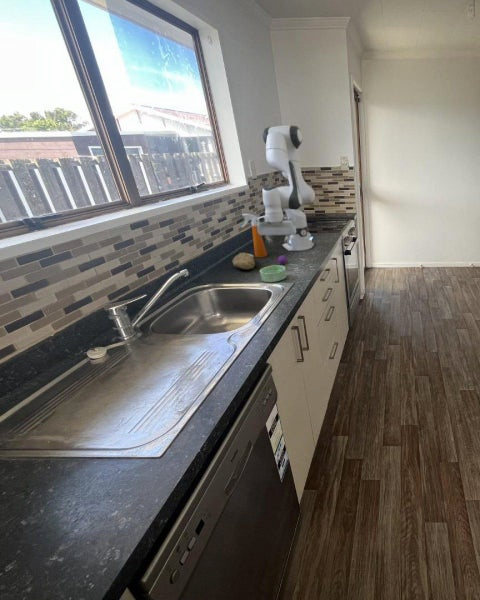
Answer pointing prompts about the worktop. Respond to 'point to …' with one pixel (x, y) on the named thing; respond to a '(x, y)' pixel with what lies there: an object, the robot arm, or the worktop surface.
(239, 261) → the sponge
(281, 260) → the ball
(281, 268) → the bowl
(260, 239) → the spray bottle
